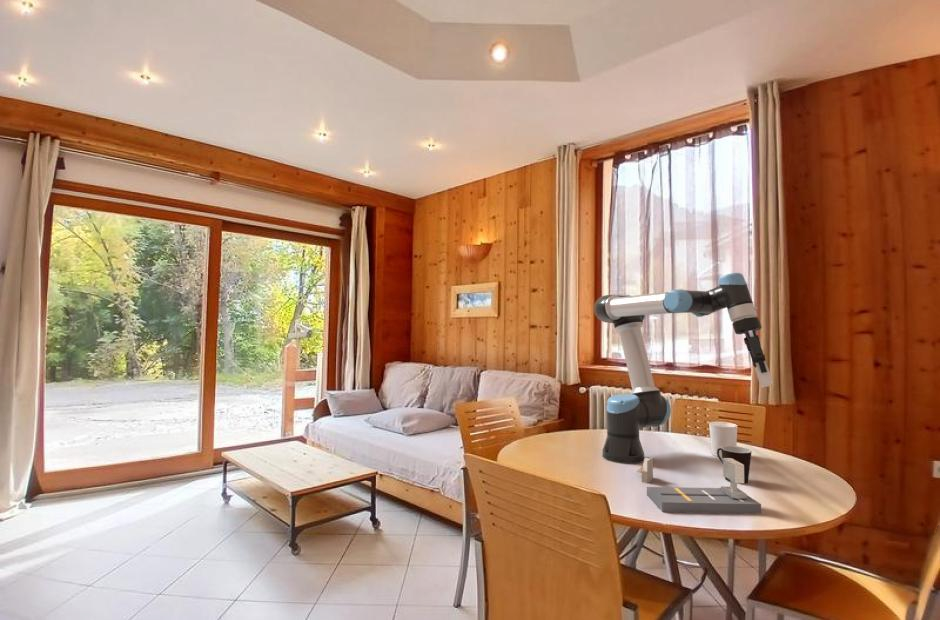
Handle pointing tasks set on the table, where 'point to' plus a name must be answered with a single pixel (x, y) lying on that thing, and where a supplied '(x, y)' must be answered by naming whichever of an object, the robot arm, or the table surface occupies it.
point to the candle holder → (722, 436)
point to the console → (700, 500)
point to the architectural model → (647, 470)
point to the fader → (733, 478)
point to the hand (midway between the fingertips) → (766, 385)
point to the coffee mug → (737, 458)
